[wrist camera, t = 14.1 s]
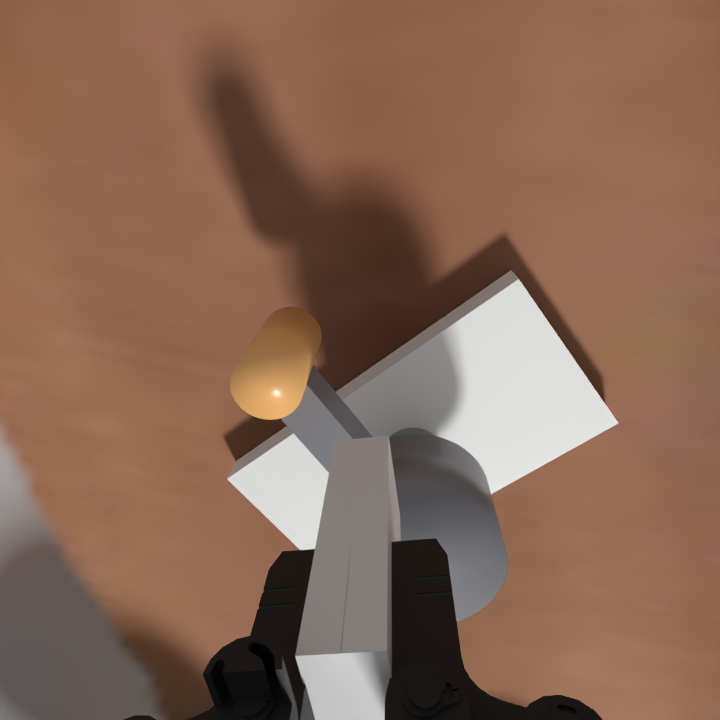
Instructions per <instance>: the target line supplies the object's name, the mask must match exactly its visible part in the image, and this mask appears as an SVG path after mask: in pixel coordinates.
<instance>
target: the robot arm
mask: <svg viewBox="0 0 720 720" xmlns="http://www.w3.org/2000/svg"><path fill="white" fill-rule="evenodd" d="M203 676H204V678H205V681H206V684H207V686H208V689H209V692H210V694H211V697H212V699H213V702H214V705H215V706H213V707H212V708H211V709H209V710H208V711H206V712H204V713H202V714H200V715H198V716H195V717H193V718H190V719H187V720H602V719H601V717H600V716H599V715H598V714H597V713H596V712H595V711H594V710H593V709H591V708H590V707H588V706H587V705H585V704H584V703H582V702H580V701H579V700H576V699H573V698H569V697H566V696H562V695H553V696H543V697H541V698H539V699H537V700H536V701H534V702H532V703H530V704H529V705H528V707H527V708H526V707H522V706H519V705H515V704H512V703H508V702H505V701H502V700H499V699H497V698H495V697H492V696H490V695H488V694H487V693H486V692H484V691H483V690H481V689H480V688H479V687H478V686H477V685H476V684H475V683H474V682H473V681H472V680H471V679H470V677H469V675H468V674H467V672H466V670H465V668H464V665H463V661H462V658H461V651H460V643H459V636H458V629H457V621H456V614H455V607H454V599H453V592H452V585H451V578H450V570H449V563H448V555H447V553H446V552H445V551H444V549H443V548H442V546H441V545H440V544H439V542H438V541H437V539H436V538H433V539H420V540H407V541H401V530H400V511H399V504H398V497H397V490H396V484H395V477H394V470H393V463H392V456H391V449H390V442H389V436H380V437H369V438H359V439H349V440H339V441H335V443H334V449H333V454H332V459H331V465H330V470H329V476H328V481H327V487H326V492H325V497H324V503H323V508H322V514H321V519H320V524H319V530H318V535H317V541H316V546H315V549H309V550H296V551H283V552H282V553H281V554H280V556H279V557H278V558H277V560H276V561H275V562H274V564H273V565H272V566H271V567H270V569H269V571H268V575H267V579H266V582H265V586H264V593H262V596H261V600H260V603H259V609H258V610H257V614H256V618H255V621H254V625H253V628H252V632H251V635H250V636H248V637H244V638H239V639H236V640H235V641H233V642H231V643H229V644H228V645H226V646H224V647H222V648H221V649H220V650H219V651H218V652H217V653H216V654H215V655H214V656H213V657H212V658H211V660H210V661H209V663H208V665H207V667H206V669H205V671H204V672H203ZM124 720H156V719H154V718H152V717H150V716H133V717H130V718H127V719H124Z"/></svg>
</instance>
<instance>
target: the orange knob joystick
mask: <svg viewBox="0 0 720 720" xmlns="http://www.w3.org/2000/svg"><path fill="white" fill-rule="evenodd" d="M321 340H322V332H321V328H320V326H319V324H318V322H317V320H316V319H315V318H314V317H313V316H312V315H311V314H310V313H308V312H307V311H305V310H303V309H300V308H296V307H285V308H281V309H279V310H277V311H275V312H273V313H272V314H271V315H270V316H269V317H268V319H267V320H266V322H265V323H264V325H263V326H262V328H261V329H260V331H259V332H258V334H257V335H256V337H255V338H254V340H253V341H252V343H251V344H250V346H249V347H248V348H247V350H246V351H245V353H244V354H243V356H242V357H241V359H240V360H239V362H238V363H237V365H236V366H235V368H234V369H233V371H232V374H231V377H230V389H231V393H232V396H233V398H234V400H235V401H236V403H237V404H238V405H239V406H240V407H241V408H242V409H243V410H244V411H245V412H247V413H248V414H250V415H252V416H254V417H257V418H260V419H267V420H274V419H281V420H282V421H283V422H284V423H285V424H286V425H287V427H288V428H289V429H290V430H291V431H292V432H293V433H294V434H295V436H296V437H297V438H298V439H299V440H300V441H301V442H302V443H303V444H304V446H305V447H306V448H307V449H308V450H309V451H310V452H311V453H312V455H313V456H314V457H315V458H316V459H317V460H318V461H319V462H320V464H321V465H322V466H323V467H324V468H325V469H326V470H327V471H328V473H329V470H330V465H331V459H332V454H333V449H334V443H335V441H339V440H349V439H359V438H369V437H373V436H372V435H371V434H370V433H369V432H368V430H367V429H366V428H365V427H364V426H363V424H362V423H361V422H360V421H359V420H358V418H357V417H356V416H355V415H354V414H353V412H352V411H351V410H350V409H349V408H348V406H347V405H346V404H345V403H344V402H343V400H342V399H341V398H340V397H339V396H338V394H337V393H336V392H335V391H334V390H333V388H332V387H331V386H330V385H329V384H328V382H327V381H326V380H325V379H324V378H323V376H322V375H321V374H320V373H319V372H318V370H317V369H316V368H315V367H314V366H313V365H314V362H315V359H316V356H317V353H318V350H319V347H320V344H321ZM389 442H390V449H391V456H392V463H393V470H394V477H395V484H396V490H397V497H398V504H399V511H400V530H401V541H407V540H420V539H433V538H436V539H437V541H438V542H439V544H440V545H441V546H442V548H443V549H444V551H445V552H446V553H447V555H448V563H449V570H450V578H451V585H452V592H453V599H454V607H455V614H456V621H460V620H462V619H465V618H467V617H469V616H471V615H473V614H475V613H476V612H478V611H479V610H481V609H482V608H483V607H485V606H486V605H487V604H488V603H489V602H490V601H491V600H492V599H493V598H494V597H495V596H496V594H497V593H498V591H499V590H500V588H501V586H502V584H503V582H504V579H505V576H506V572H507V563H508V561H507V552H506V548H505V544H504V541H503V537H502V533H501V530H500V526H499V522H498V518H497V515H496V511H495V507H494V503H493V500H492V496H491V492H490V488H489V485H488V481H487V477H486V475H485V473H484V470H483V469H482V467H481V465H480V464H479V462H478V461H477V460H476V459H475V458H474V457H473V456H472V455H471V454H470V453H469V452H468V451H467V450H465V449H464V448H462V447H461V446H459V445H458V444H456V443H454V442H452V441H450V440H447V439H444V438H441V437H437V436H433V435H427V434H405V435H398V436H394V437H390V438H389Z"/></svg>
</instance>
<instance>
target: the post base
mask: <svg viewBox="0 0 720 720" xmlns="http://www.w3.org/2000/svg"><path fill="white" fill-rule="evenodd" d="M336 393H337V394H338V396H339V397H340V398H341V399H342V400H343V402H344V403H345V404H346V405H347V406H348V408H349V409H350V410H351V411H352V412H353V414H354V415H355V416H356V417H357V418H358V420H359V421H360V422H361V423H362V424H363V426H364V427H365V428H366V429H367V430H368V432H369V433H370V434H371V435H372V436H373V437H380V436H389V438H390V437H394V436H398V435H405V434H427V435H433V436H437V437H441V438H444V439H447V440H450V441H452V442H454V443H456V444H458V445H459V446H461V447H462V448H464V449H465V450H467V451H468V452H469V453H470V454H471V455H472V456H473V457H474V458H475V459H476V460H477V461H478V462H479V464H480V465H481V467H482V469H483V470H484V473H485V475H486V477H487V481H488V485H489V488H490V492H491V494H492V493H494V492H496V491H498V490H499V489H501V488H503V487H505V486H506V485H508V484H510V483H512V482H514V481H515V480H517V479H519V478H521V477H523V476H524V475H526V474H528V473H530V472H532V471H533V470H535V469H537V468H539V467H541V466H542V465H544V464H546V463H548V462H550V461H551V460H553V459H555V458H557V457H559V456H560V455H562V454H564V453H566V452H568V451H569V450H571V449H573V448H575V447H576V446H578V445H580V444H582V443H584V442H585V441H587V440H589V439H591V438H593V437H594V436H596V435H598V434H600V433H602V432H603V431H605V430H607V429H609V428H611V427H612V426H614V425H616V424H618V422H617V420H616V419H615V418H614V416H613V415H612V413H611V412H610V410H609V409H608V407H607V406H606V405H605V403H604V402H603V400H602V399H601V397H600V396H599V394H598V393H597V392H596V390H595V389H594V387H593V386H592V384H591V383H590V381H589V380H588V378H587V377H586V376H585V374H584V373H583V371H582V370H581V368H580V367H579V365H578V364H577V363H576V361H575V360H574V358H573V357H572V355H571V354H570V352H569V351H568V350H567V348H566V347H565V345H564V344H563V342H562V341H561V339H560V338H559V336H558V335H557V334H556V332H555V331H554V329H553V328H552V326H551V325H550V323H549V322H548V321H547V319H546V318H545V316H544V315H543V313H542V312H541V310H540V309H539V308H538V306H537V305H536V303H535V302H534V300H533V299H532V297H531V296H530V294H529V293H528V292H527V290H526V289H525V287H524V286H523V284H522V283H521V281H520V280H519V279H518V277H517V276H516V275H515V274H514V273H513V272H512V270H510V271H509V272H508V273H506V274H505V275H503V276H502V277H500V278H499V279H497V280H496V281H495V282H493V283H492V284H490V285H489V286H487V287H486V288H485V289H483V290H482V291H480V292H479V293H477V294H476V295H474V296H473V297H472V298H470V299H469V300H467V301H466V302H464V303H463V304H461V305H460V306H459V307H457V308H456V309H454V310H453V311H451V312H450V313H448V314H447V315H446V316H444V317H443V318H441V319H440V320H438V321H437V322H436V323H434V324H433V325H431V326H430V327H428V328H427V329H425V330H424V331H423V332H421V333H420V334H418V335H417V336H415V337H414V338H412V339H411V340H410V341H408V342H407V343H405V344H404V345H402V346H401V347H400V348H398V349H397V350H395V351H394V352H392V353H391V354H389V355H388V356H387V357H385V358H384V359H382V360H381V361H379V362H378V363H376V364H375V365H374V366H372V367H371V368H369V369H368V370H366V371H365V372H364V373H362V374H361V375H359V376H358V377H356V378H355V379H353V380H352V381H351V382H349V383H348V384H346V385H345V386H343V387H342V388H340V389H339V390H338V391H336ZM328 476H329V473H328V471H327V470H326V469H325V468H324V467H323V466H322V465H321V464H320V462H319V461H318V460H317V459H316V458H315V457H314V456H313V455H312V453H311V452H310V451H309V450H308V449H307V448H306V447H305V446H304V444H303V443H302V442H301V441H300V440H299V439H298V438H297V437H296V436H295V434H294V433H293V432H292V431H291V430H290V429H289V428H288V427H287V426H286V427H284V428H283V429H281V430H280V431H279V432H277V433H276V434H274V435H273V436H271V437H270V438H268V439H267V440H266V441H264V442H263V443H261V444H260V445H258V446H257V447H255V448H254V449H253V450H251V451H250V452H248V453H247V454H245V455H244V456H243V457H241V458H240V459H238V460H237V461H235V463H234V465H233V468H232V470H231V472H230V474H229V476H228V478H227V479H228V480H229V481H230V482H231V483H232V484H233V485H234V486H235V487H236V488H237V489H238V490H239V491H240V492H241V493H242V494H243V495H244V496H245V497H246V498H247V499H248V500H249V501H250V502H251V503H252V504H253V505H254V506H255V507H256V508H258V509H259V510H260V511H261V512H262V513H263V514H264V515H265V516H266V517H267V518H268V519H269V520H270V521H271V522H272V523H273V524H274V525H275V526H276V527H277V528H278V529H279V530H280V531H281V532H282V533H283V534H284V535H285V536H286V537H287V538H289V539H290V540H291V541H292V542H293V543H294V544H295V545H296V546H297V547H298V548H299V549H300V550H309V549H315V546H316V541H317V535H318V530H319V524H320V519H321V514H322V508H323V503H324V497H325V492H326V487H327V481H328Z"/></svg>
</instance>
